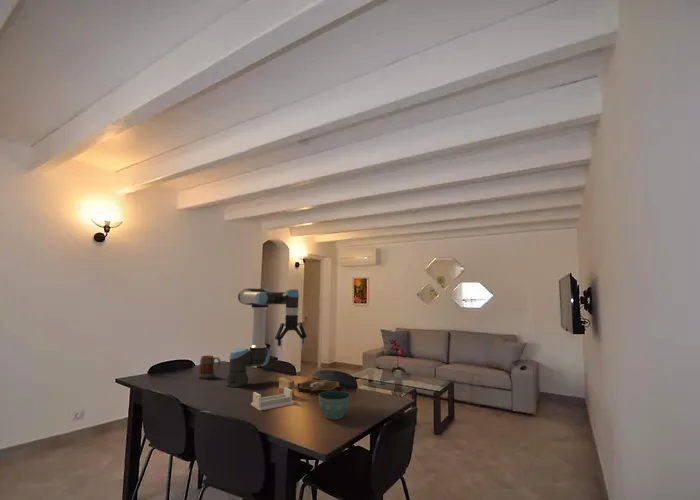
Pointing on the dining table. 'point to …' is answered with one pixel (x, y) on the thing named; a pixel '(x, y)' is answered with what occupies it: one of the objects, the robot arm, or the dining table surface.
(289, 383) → the door panel
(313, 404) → the dining table surface
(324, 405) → the flower pot
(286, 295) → the robot arm
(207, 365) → the mug
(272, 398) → the track
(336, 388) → the decorative plaque
